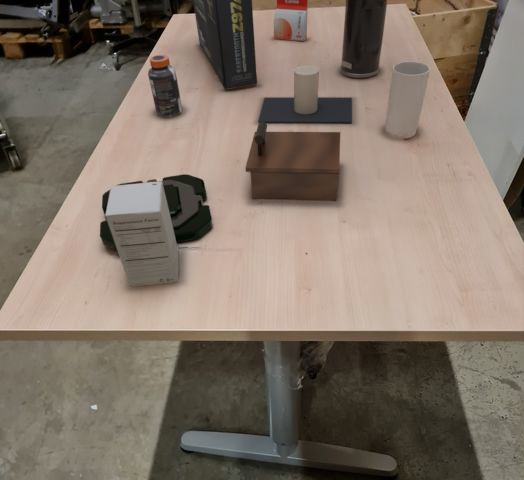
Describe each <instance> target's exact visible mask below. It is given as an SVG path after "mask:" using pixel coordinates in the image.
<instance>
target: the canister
mask: <svg viewBox="0 0 524 480" xmlns="http://www.w3.org/2000/svg"><path fill="white" fill-rule="evenodd" d="M319 82H320V69H319V67H318V66H315V65H310V64H307V65H306V64H304V65H300V66H299V65H298V66H297V67H295V68H294V70H293V98H294V111H295V112H296V113H299V114H312V113H314V112H316V111H317V109H318V98H319V86H320V85H319Z"/></svg>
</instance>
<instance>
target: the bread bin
mask: <svg viewBox="0 0 524 480" xmlns="http://www.w3.org/2000/svg"><path fill="white" fill-rule="evenodd" d="M339 180H340V172H339V173H287V172H250V185H251V196H252V197H251V198H252V200H275V201H277V200H279V201H280V200H281V201H319V202H323V201H325V202H337V201H338V190H339Z"/></svg>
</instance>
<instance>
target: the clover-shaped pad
mask: <svg viewBox="0 0 524 480" xmlns="http://www.w3.org/2000/svg"><path fill="white" fill-rule="evenodd" d="M148 182H162V183H163V187H164V192H165V196H166V200H167V204H168V209H169V213H170V217H171V222H172V226H173V230H174V234H175V239H176V243H179V242H186V241H192V240H197V239H199V238H201V237H202V236H204V235H205V234H206V233H207V232H208V231H210V229H212V228H213V225H214V223H213V218H212V213H211V209H210V205H208V204H204V201H205V200H206V199H208V194H207V189H206V185H205V181H204V180H203V178H200V177H197V176H194V175H191V174H187V173H185V174H178V175H177V174H176V175H171V176H165V177H163V178H162V180H159V181H158V180H157V179H156V178H153V179H147V181H146V183H148ZM138 183H144V181H143V180H136V181H130V182H124V183H123V182H122V183H118V184H116V185H115V186H117V185H128V184H138ZM109 194H110V189H109V190H107V191H105V192H104V193H103V194H102V197H101V208H102V211H103V214H104V215H106V210H107V204H108V199H109ZM99 237H100V240H101V243H102V244H103V246H106V247H108V248H111V249H113V250H115V251H117V248H116V245H115V242H114V239H113V236H112V233H111V230H110V227H109V225H108V222H107V219H106V220H102V221H101V222H100V224H99Z"/></svg>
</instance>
